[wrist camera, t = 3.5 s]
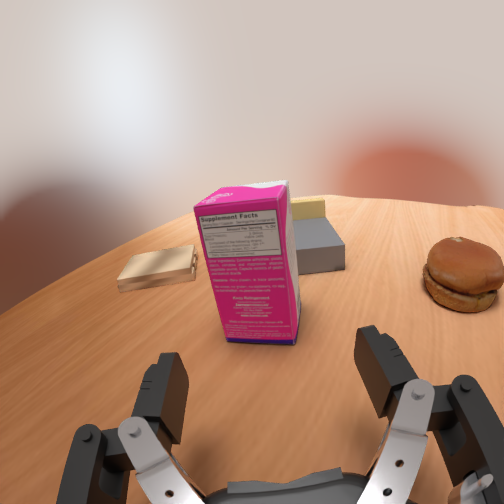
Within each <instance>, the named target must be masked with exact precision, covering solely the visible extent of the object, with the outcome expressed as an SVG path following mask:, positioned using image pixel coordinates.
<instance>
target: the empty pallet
mask: <svg viewBox="0 0 504 504" xmlns="http://www.w3.org/2000/svg"><path fill="white" fill-rule="evenodd" d="M197 259H198V253H197V249H195V246H194V244H192V245H187V246H181V247H176V248H170V249H165V250H159V251H154V252H148V253H143V254H138V255H133V256H132V257H131V259H130V260H129V262H128V263H127V265H126V266H125V268H124V269H123V271H122V273H121V274H120V276H119V277H118V279H117V281H118V288H119V291H120V292H125V291H132V290H138V289H145V288H151V287H158V286H164V285H170V284H176V283H182V282H188V281H195V275H196V273H195V270H196V267H197V262H196V260H197Z"/></svg>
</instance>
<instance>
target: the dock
mask: <svg viewBox="0 0 504 504" xmlns="http://www.w3.org/2000/svg"><path fill="white" fill-rule="evenodd" d="M291 210H292V219H293V227H294V237H295V247H296V257H297V267H298V275H301V274H310V273H319V272H328V271H337V270H345V244H344V243H343V241H342V240H341V238H340V237H339V235H338V234H337V233H336V231H335V230H334V228H333V227H332V226H331V224H330V223H329V221H328V220H327V219H326V216H325V200H324V199H323V198H316V199H305V200H295V201H291Z"/></svg>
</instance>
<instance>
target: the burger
mask: <svg viewBox="0 0 504 504" xmlns="http://www.w3.org/2000/svg"><path fill="white" fill-rule="evenodd" d="M423 276H424V279H425V283H426V288H427V290H428V291H429V293H430V294H431V296H433V299H434V300H435V301H436V302H438V303H439V304H441V305H443V306H445V307H448V308H451V309H453V310H456V311H462V312H480V311H484V310H486V309H487V308H488V307H489V306H490V305H491V304H492V302H493V300H494V299H495V297H496V294H497V290H498V289H499V288H501V286H502V285H503V283H504V266H503V263H502V260H501V257H500V256H499V255H498V254H497V252H496V251H495V250H493V249H492V248H491V247H489V246H486V245H484V244H481V243H478V242H474V241H471V240H469V239H466V238H463V237H458V238H454V237H451V238H445V239H443V240H441V241H440V242H438V243H436V244H435V245H434V246H433V247H432V249H431V250H430V252H429V254H428V259H427V264H425V266H424V267H423Z"/></svg>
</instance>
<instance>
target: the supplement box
mask: <svg viewBox="0 0 504 504" xmlns="http://www.w3.org/2000/svg"><path fill="white" fill-rule="evenodd" d="M194 213H195V217H196V221H197V225H198V230H199V234H200V239H201V243H202V247H203V252H204V256H205V260H206V264H207V268H208V272H209V276H210V280H211V284H212V288H213V292H214V296H215V300H216V303H217V307H218V311H219V315H220V318H221V322H222V326H223V329H224V333H225V336H226V340H227V341H232V342H248V343H269V344H292V345H294V344H295V342H296V338H297V333H298V326H299V319H300V310H301V300H300V290H299V278H298V267H297V257H296V247H295V237H294V227H293V219H292V210H291V201H290V194H289V187H288V181H287V180H282V181H273V182H265V183H257V184H248V185H238V186H231V187H223V188H220V189H219V190H217V191H216V192H214V193H213V194H211V195H210V196H208V197H207V198H205V199H204V200H202V201H201V202H200V203H198V204H197V205H195V206H194Z"/></svg>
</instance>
